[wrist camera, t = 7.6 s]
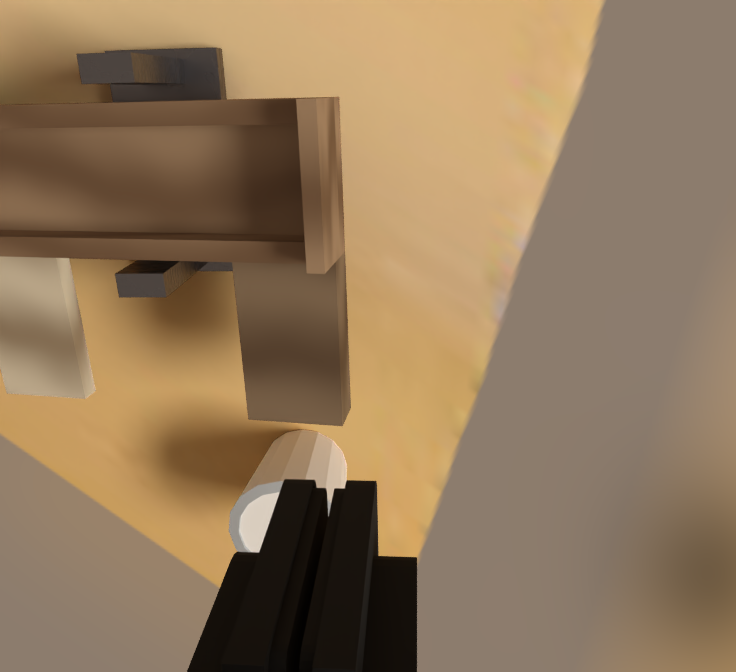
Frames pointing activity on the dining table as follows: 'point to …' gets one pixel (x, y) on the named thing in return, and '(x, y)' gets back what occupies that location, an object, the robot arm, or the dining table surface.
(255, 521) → the white cup
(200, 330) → the dining table surface
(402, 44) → the dining table surface
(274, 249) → the walnut lever
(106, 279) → the dining table surface
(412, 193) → the dining table surface
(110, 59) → the lever stand
